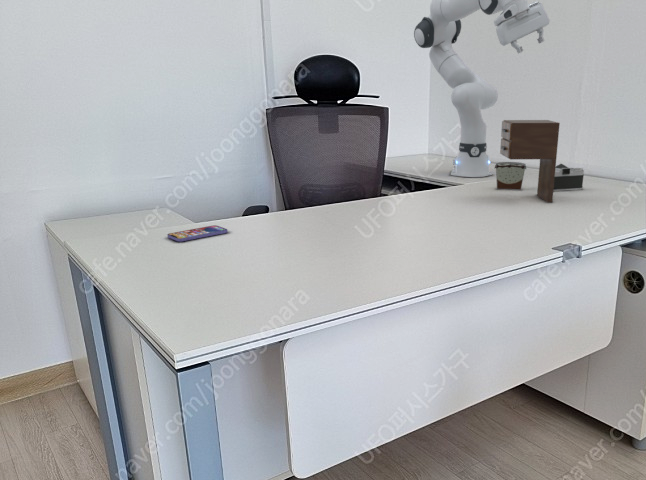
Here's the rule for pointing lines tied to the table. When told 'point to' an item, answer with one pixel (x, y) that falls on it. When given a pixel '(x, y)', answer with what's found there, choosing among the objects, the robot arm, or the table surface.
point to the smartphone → (197, 233)
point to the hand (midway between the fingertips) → (531, 47)
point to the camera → (568, 178)
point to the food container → (509, 175)
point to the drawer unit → (533, 148)
